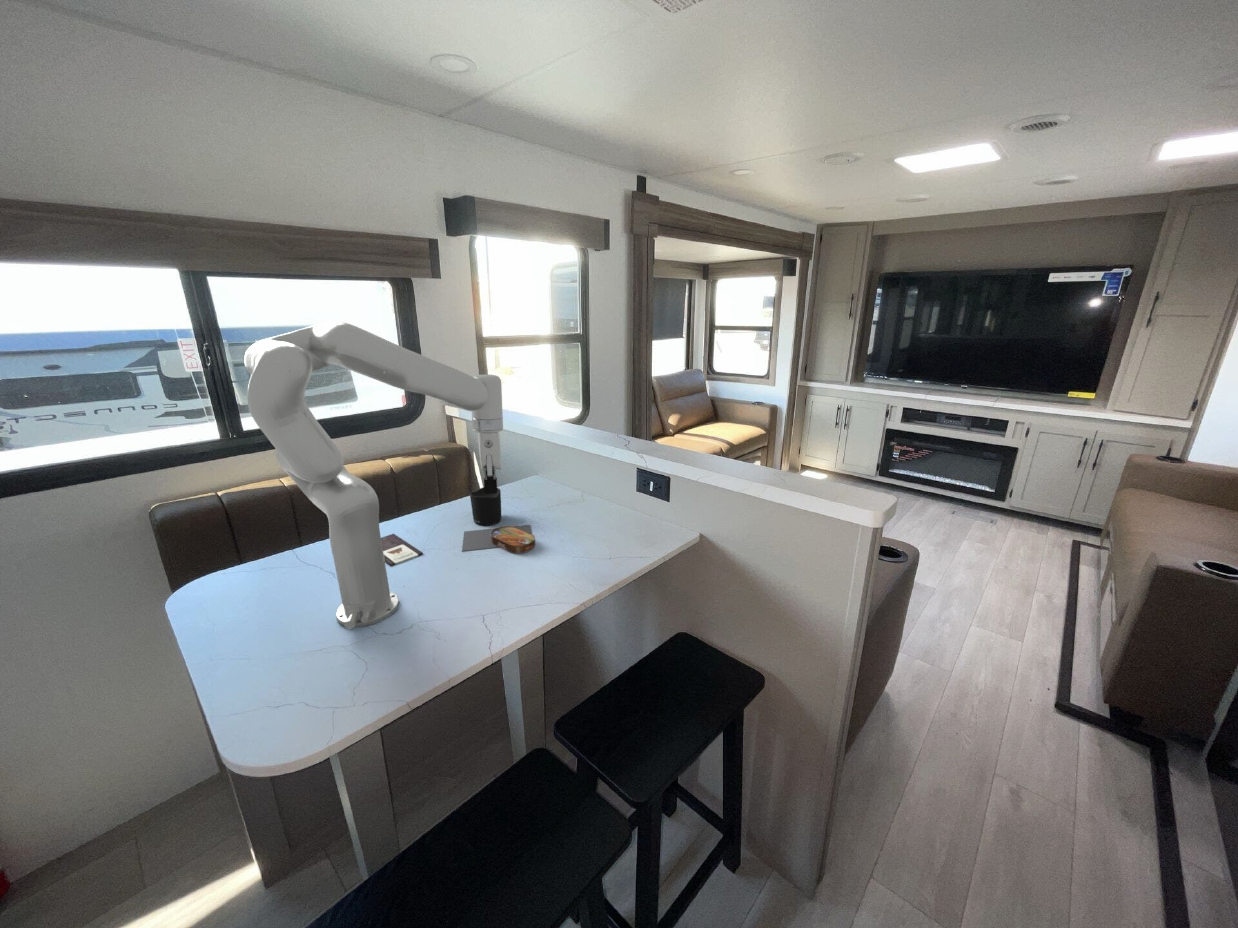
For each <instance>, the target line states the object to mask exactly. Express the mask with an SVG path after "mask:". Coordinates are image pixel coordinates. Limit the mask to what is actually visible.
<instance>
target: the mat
mask: <svg viewBox="0 0 1238 928" xmlns="http://www.w3.org/2000/svg"><path fill="white" fill-rule="evenodd" d="M512 527H516V528H518V529H521V530H523V531H526V532H528V533H531V534H533V532H532V526H531V524H525V525H524V524H523V525H513V526H512ZM496 528H497V527H494V528H485V529H475V530H465V531H463V537H462V538H463V539H462V549H461V552H469V551H471V552H472V551H477V550H478V551H479V550H488V549H489V550H490V549H499V548H500V547H499V546H497V545H495V544H493V543H492V541H491V535H490V533H491V532H492V531H493V530H494V529H496Z"/></svg>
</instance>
